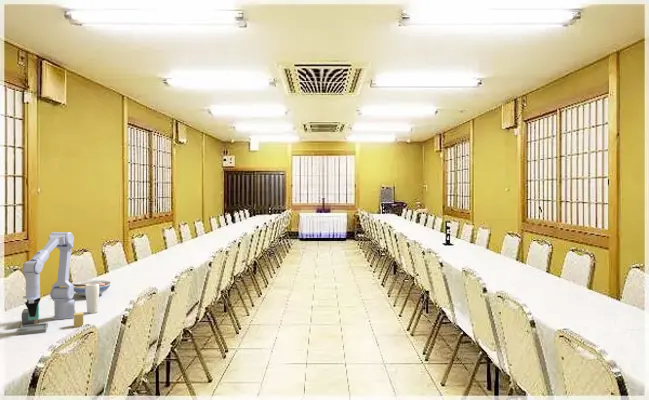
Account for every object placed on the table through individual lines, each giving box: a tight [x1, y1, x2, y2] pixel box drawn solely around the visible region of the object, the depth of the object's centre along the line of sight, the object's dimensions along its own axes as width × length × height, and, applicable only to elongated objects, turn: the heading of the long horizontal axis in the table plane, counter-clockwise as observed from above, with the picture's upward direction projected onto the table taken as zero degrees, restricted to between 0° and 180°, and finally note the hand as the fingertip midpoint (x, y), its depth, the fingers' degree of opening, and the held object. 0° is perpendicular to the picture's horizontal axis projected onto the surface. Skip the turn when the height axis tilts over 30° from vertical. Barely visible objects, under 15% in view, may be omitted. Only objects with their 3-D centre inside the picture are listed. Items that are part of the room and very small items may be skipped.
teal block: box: [28, 304, 40, 320], centre depth 231 cm, size 4×4×6 cm
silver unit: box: [18, 308, 39, 329], centre depth 241 cm, size 7×10×7 cm
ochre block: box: [73, 312, 84, 328], centre depth 239 cm, size 4×4×6 cm
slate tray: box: [17, 322, 49, 336], centre depth 231 cm, size 11×11×2 cm
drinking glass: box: [85, 283, 100, 314], centre depth 264 cm, size 7×7×15 cm
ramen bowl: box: [72, 279, 112, 298], centre depth 304 cm, size 25×23×8 cm
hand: (33, 315), depth 231 cm, fingers closed on teal block, 4 cm apart
